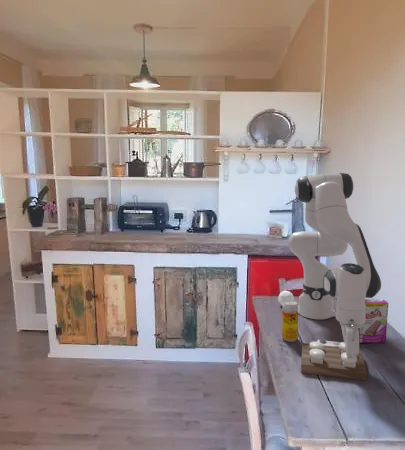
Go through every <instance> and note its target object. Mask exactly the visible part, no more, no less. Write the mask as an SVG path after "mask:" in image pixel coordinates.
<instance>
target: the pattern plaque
mask: <svg viewBox="0 0 405 450" xmlns="http://www.w3.org/2000/svg"><path fill="white" fill-rule="evenodd" d="M316 342H320V343H323V344H324V345H325V346H335V347H339V346H340V343H341V342H342V341H340V342H339V341H332V340H323V339H317V341H316Z"/></svg>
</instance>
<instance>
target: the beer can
mask: <svg viewBox="0 0 405 450" xmlns="http://www.w3.org/2000/svg"><path fill="white" fill-rule="evenodd" d="M298 305H299V303H298V302H297V301H295V300H294V301H284V303H283V305H281V306H282V308H281V309H282V311H281V312H282V313H281V314H282V315H281V316H282V317H281V319H282V320H281V321H282V323H281V324H282V325H281V338H282V339H283V340H284V341H286V342H290V343H291V342H292V343H294V342H296V341H297V340H298V338H299V314H298Z"/></svg>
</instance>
